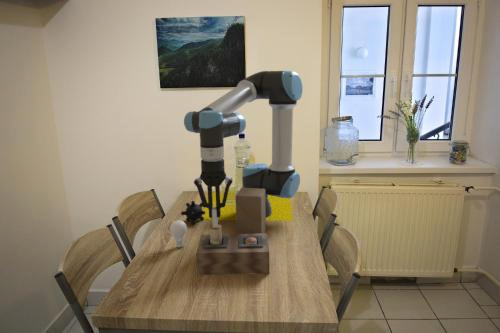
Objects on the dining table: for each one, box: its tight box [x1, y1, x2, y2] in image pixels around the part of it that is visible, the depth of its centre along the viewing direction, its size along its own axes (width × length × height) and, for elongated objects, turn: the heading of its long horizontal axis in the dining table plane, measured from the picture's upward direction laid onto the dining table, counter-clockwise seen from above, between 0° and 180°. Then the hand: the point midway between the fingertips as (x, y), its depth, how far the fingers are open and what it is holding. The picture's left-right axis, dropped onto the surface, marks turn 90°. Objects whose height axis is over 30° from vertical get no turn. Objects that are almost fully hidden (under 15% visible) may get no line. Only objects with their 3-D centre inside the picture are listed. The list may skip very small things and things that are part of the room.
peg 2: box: [245, 237, 257, 244], centre depth 130 cm, size 4×4×8 cm
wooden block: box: [235, 187, 267, 234], centre depth 146 cm, size 10×10×20 cm
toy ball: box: [180, 200, 206, 226], centre depth 166 cm, size 11×11×12 cm
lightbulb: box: [169, 219, 188, 249], centre depth 142 cm, size 6×6×11 cm
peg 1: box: [209, 224, 223, 245], centre depth 128 cm, size 4×4×8 cm
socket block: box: [195, 232, 270, 276], centre depth 130 cm, size 24×14×9 cm, turn 90°
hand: (215, 226), depth 127 cm, fingers closed
